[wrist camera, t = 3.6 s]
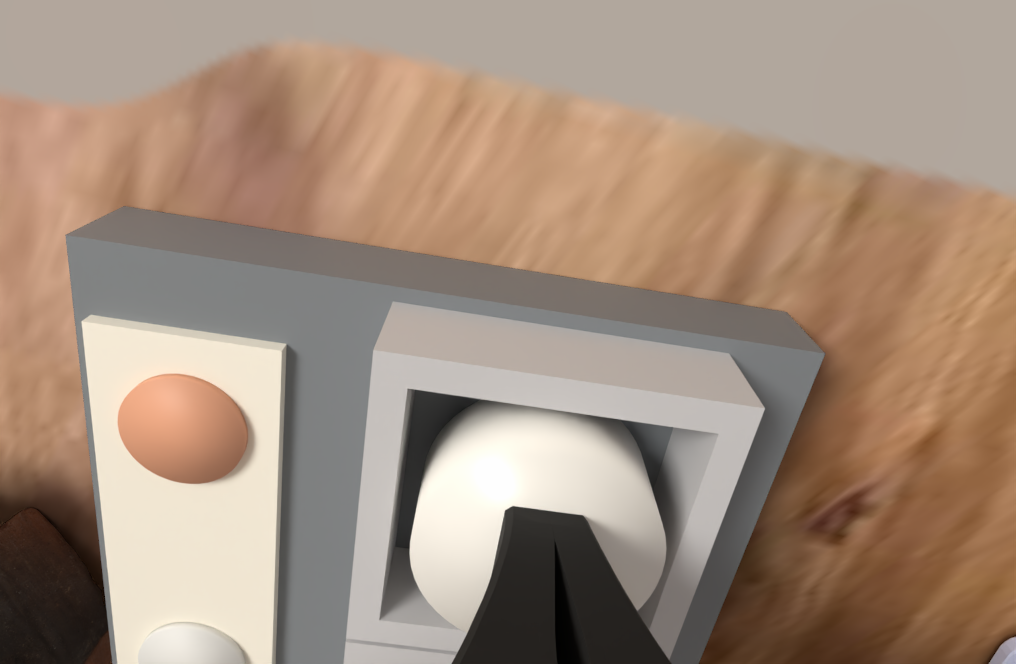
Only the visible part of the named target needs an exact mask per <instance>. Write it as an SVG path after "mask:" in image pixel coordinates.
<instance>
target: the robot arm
mask: <svg viewBox="0 0 1016 664" xmlns="http://www.w3.org/2000/svg"><path fill="white" fill-rule="evenodd" d="M452 664H672V663H671V662H670V660H669V659H668V657H667V656H666V655H665V653H664V652H663V650H662V649H661V647H660V646H659V644H658V643H657V641H656V640H655V638H654V637H653V635H652V634H651V632H650V631H649V629H648V628H647V626H646V624H645V623H644V621H643V620H642V618H641V616H640V615H639V613H638V612H637V610H636V608H635V607H634V605H633V603H632V602H631V600H630V598H629V597H628V595H627V593H626V592H625V590H624V588H623V587H622V585H621V583H620V581H619V580H618V578H617V576H616V574H615V573H614V571H613V569H612V567H611V565H610V563H609V562H608V560H607V558H606V556H605V554H604V552H603V550H602V549H601V547H600V545H599V543H598V541H597V539H596V537H595V535H594V533H593V531H592V529H591V527H590V525H589V523H588V521H587V520H586V518H585V517H584V516H583V515H577V514H569V513H562V512H554V511H547V510H539V509H532V508H525V507H517V506H512V507H510V508H508V509H506V510H505V513H504V518H503V522H502V527H501V532H500V537H499V542H498V546H497V551H496V556H495V561H494V565H493V570H492V575H491V578H490V581H489V584H488V587H487V589H486V592H485V594H484V597H483V599H482V602H481V604H480V606H479V608H478V610H477V613H476V615H475V617H474V619H473V621H472V624H471V626H470V628H469V630H468V633H467V635H466V637H465V639H464V641H463V643H462V645H461V647H460V649H459V651H458V652H457V654H456V656H455V658H454V660H453V662H452ZM989 664H1016V637H1012V638H1010V639H1008V640H1006V641H1004V642H1003V643H1002V645H1001V646H1000V647H999V649H998V650H997V652H996V653H995V655H994V656H993V658H992V659H991V661H990V662H989Z"/></svg>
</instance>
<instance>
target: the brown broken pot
mask: <svg viewBox="0 0 1016 664" xmlns="http://www.w3.org/2000/svg"><path fill="white" fill-rule="evenodd" d="M111 660H112V655H111V646H110V637H109V628H108V619H107V610H106V607H105V605H104V603H103V599H102V592H101V590H100V588H99V587H98V586H97V585H96V584H95V583H94V582H93V580H92V578H91V576H90V574H89V571H88V569H87V567H86V565H85V564H84V563H83V562H82V561H81V560H80V558H79V556H78V555H77V553H76V551H75V550H74V549H73V548H72V547H71V546H70V545H69V544H68V543H67V542H66V541H65V540H64V538H63V537H62V535H61V534H60V532H59V531H57V529H56V528H55V527H54V526H53V525H52V524H51V523H50V522H49V521H48V520H47V519H46V518H45V517H44V516H43V515H42V514H41V513H40V512H39V511H38V510H37V509H34V508H27V509H25V510H23V511H21V512H20V513H18V514H16V515H15V516H14V517H12V518H11V519H10V520H8V521H7V522H6V523H5V524H3V525H2V526H1V527H0V664H109V663H110V662H111Z"/></svg>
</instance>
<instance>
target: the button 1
mask: <svg viewBox="0 0 1016 664" xmlns="http://www.w3.org/2000/svg"><path fill="white" fill-rule="evenodd" d="M512 506H517V507H525V508H532V509H539V510H547V511H554V512H562V513H569V514H577V515H583V516H584V517H585V518H586V520H587V521H588V523H589V525H590V527H591V529H592V531H593V533H594V535H595V537H596V539H597V541H598V543H599V545H600V547H601V549H602V550H603V552H604V554H605V556H606V558H607V560H608V562H609V563H610V565H611V567H612V569H613V571H614V573H615V574H616V576H617V578H618V580H619V581H620V583H621V585H622V587H623V588H624V590H625V592H626V593H627V595H628V597H629V598H630V600H631V602H632V603H633V605H634V607H635V608H636V610H637V611H638V610H639V609H640V608H641V607H642V606H643V604H644V603H645V602H646V601H647V600H648V599H649V597H650V596H651V594H652V593H653V591H654V589H655V588H656V586H657V584H658V582H659V580H660V577H661V575H662V572H663V568H664V564H665V559H666V537H665V532H664V528H663V524H662V521H661V517H660V514H659V511H658V507H657V504H656V501H655V497H654V494H653V491H652V487H651V484H650V481H649V478H648V474H647V471H646V468H645V464H644V461H643V458H642V454H641V452H640V449H639V447H638V445H637V442H636V441H635V439H634V437H633V436H632V434H631V433H630V431H629V430H628V429H627V428H626V426H625V425H624V424H623V423H622V422H621V421H620V420H619V419H613V418H607V417H600V416H593V415H586V414H579V413H572V412H565V411H559V410H552V409H545V408H538V407H531V406H524V405H518V404H511V403H504V402H497V401H490V400H483V399H482V400H479V401H478V402H476V403H474V404H472V405H470V406H468V407H467V408H465V409H464V410H463V411H461V412H460V413H458V414H457V415H456V416H455V417H453V418H452V419H451V420H450V421H449V422H448V423H447V424H446V425H445V426H444V428H443V429H442V430H441V431H440V432H439V434H438V435H437V437H436V438H435V440H434V442H433V443H432V445H431V447H430V450H429V452H428V455H427V457H426V461H425V466H424V470H423V476H422V481H421V486H420V491H419V497H418V502H417V507H416V513H415V518H414V523H413V529H412V534H411V539H410V562H411V568H412V572H413V575H414V579H415V581H416V583H417V585H418V587H419V589H420V591H421V593H422V594H423V596H424V597H425V599H426V600H427V602H428V603H429V604H430V605H431V606H432V607H433V608H434V609H435V611H436V612H437V613H439V614H440V615H441V616H442V617H443V618H444V619H446V620H447V621H448V622H450V623H451V624H453V625H454V626H456V627H457V628H459V629H460V630H462V631H464V632H466V633H468V630H469V628H470V626H471V624H472V621H473V619H474V617H475V615H476V613H477V610H478V608H479V606H480V604H481V602H482V599H483V597H484V594H485V592H486V589H487V587H488V584H489V581H490V578H491V575H492V570H493V565H494V561H495V556H496V551H497V546H498V542H499V537H500V532H501V527H502V522H503V518H504V513H505V510H506V509H508V508H510V507H512Z"/></svg>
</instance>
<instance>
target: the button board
mask: <svg viewBox="0 0 1016 664" xmlns="http://www.w3.org/2000/svg"><path fill="white" fill-rule="evenodd" d="M66 244H67V253H68V262H69V271H70V280H71V289H72V298H73V308H74V317H75V326H76V335H77V344H78V353H79V363H80V372H81V381H82V390H83V399H84V408H85V417H86V427H87V436H88V445H89V454H90V463H91V472H92V482H93V491H94V500H95V509H96V518H97V527H98V536H99V546H100V555H101V564H102V573H103V582H104V591H105V600H106V610H107V619H108V628H109V637H110V646H111V655H112V664H452V662H453V660H454V658H455V656H456V654H457V652H458V651H459V649H460V647H461V645H462V643H463V641H464V639H465V637H466V635H467V633H466V632H464V631H462V630H460V629H459V628H457V627H456V626H454V625H453V624H451V623H450V622H448V621H447V620H446V619H444V618H443V617H442V616H441V615H440V614H439V613H437V612H436V611H435V609H434V608H433V607H432V606H431V605H430V604H429V603H428V602H427V600H426V599H425V597H424V596H423V594H422V593H421V591H420V589H419V587H418V585H417V583H416V581H415V579H414V575H413V572H412V568H411V562H410V539H411V534H412V529H413V523H414V518H415V513H416V507H417V502H418V497H419V491H420V486H421V481H422V476H423V470H424V466H425V461H426V457H427V455H428V452H429V450H430V447H431V445H432V443H433V442H434V440H435V438H436V437H437V435H438V434H439V432H440V431H441V430H442V429H443V428H444V426H445V425H446V424H447V423H448V422H449V421H450V420H451V419H452V418H453V417H455V416H456V415H457V414H458V413H460V412H461V411H463V410H464V409H465V408H467V407H468V406H470V405H472V404H474V403H476V402H478V401H479V400H482V399H483V400H490V401H497V402H504V403H511V404H518V405H524V406H531V407H538V408H545V409H552V410H559V411H565V412H572V413H579V414H586V415H593V416H600V417H607V418H613V419H619V420H620V421H621V422H622V423H623V424H624V425H625V426H626V428H627V429H628V430H629V431H630V433H631V434H632V436H633V437H634V439H635V441H636V442H637V445H638V447H639V449H640V452H641V454H642V458H643V461H644V464H645V468H646V471H647V474H648V478H649V481H650V484H651V487H652V491H653V494H654V497H655V501H656V504H657V507H658V511H659V514H660V517H661V521H662V524H663V528H664V532H665V537H666V559H665V564H664V568H663V572H662V575H661V577H660V580H659V582H658V584H657V586H656V588H655V589H654V591H653V593H652V594H651V596H650V597H649V599H648V600H647V601H646V602H645V603H644V604H643V606H642V607H641V608H640V609H639V610H638V611H637V612H638V613H639V615H640V616H641V618H642V620H643V621H644V623H645V624H646V626H647V628H648V629H649V631H650V632H651V634H652V635H653V637H654V638H655V640H656V641H657V643H658V644H659V646H660V647H661V649H662V650H663V652H664V653H665V655H666V656H667V657H668V659H669V660H670V662H671V663H672V664H699V662H700V659H701V657H702V654H703V652H704V649H705V647H706V644H707V642H708V640H709V637H710V635H711V632H712V630H713V627H714V625H715V622H716V620H717V618H718V615H719V613H720V610H721V608H722V605H723V603H724V600H725V598H726V596H727V593H728V591H729V588H730V586H731V583H732V581H733V578H734V576H735V573H736V571H737V569H738V566H739V564H740V561H741V559H742V556H743V554H744V551H745V549H746V547H747V544H748V542H749V539H750V537H751V534H752V532H753V529H754V527H755V524H756V522H757V520H758V517H759V515H760V512H761V510H762V507H763V505H764V502H765V500H766V498H767V495H768V493H769V490H770V488H771V485H772V483H773V480H774V478H775V476H776V473H777V471H778V468H779V466H780V463H781V461H782V458H783V456H784V453H785V451H786V449H787V446H788V444H789V441H790V439H791V436H792V434H793V431H794V429H795V427H796V424H797V422H798V419H799V417H800V414H801V412H802V409H803V407H804V404H805V402H806V400H807V397H808V395H809V392H810V390H811V387H812V385H813V382H814V380H815V378H816V375H817V373H818V370H819V368H820V365H821V363H822V360H823V358H824V356H825V353H824V352H823V351H822V350H821V349H820V347H819V346H818V345H817V344H816V343H815V342H814V341H813V340H812V339H811V338H810V337H809V336H808V335H807V334H806V333H805V331H804V330H803V329H802V328H801V327H800V326H799V325H798V324H797V323H796V322H795V321H794V320H793V319H792V318H791V317H790V315H789V314H788V313H787V312H783V311H776V310H770V309H764V308H758V307H751V306H745V305H739V304H733V303H726V302H720V301H714V300H708V299H701V298H695V297H689V296H683V295H676V294H670V293H664V292H658V291H651V290H645V289H639V288H633V287H626V286H620V285H614V284H608V283H601V282H595V281H589V280H583V279H576V278H570V277H564V276H558V275H551V274H545V273H539V272H533V271H526V270H520V269H514V268H508V267H501V266H495V265H489V264H483V263H476V262H470V261H464V260H458V259H451V258H445V257H439V256H433V255H426V254H420V253H414V252H407V251H401V250H395V249H389V248H382V247H376V246H370V245H364V244H357V243H351V242H345V241H339V240H332V239H326V238H320V237H314V236H307V235H301V234H295V233H289V232H282V231H276V230H270V229H264V228H257V227H251V226H245V225H239V224H232V223H226V222H220V221H214V220H207V219H201V218H195V217H189V216H182V215H176V214H170V213H164V212H157V211H151V210H145V209H139V208H132V207H126V206H123V207H121V208H119V209H117V210H115V211H113V212H111V213H109V214H107V215H105V216H103V217H101V218H99V219H97V220H95V221H93V222H91V223H89V224H87V225H85V226H83V227H81V228H79V229H77V230H75V231H73V232H71V233H69V234H67V235H66Z"/></svg>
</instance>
